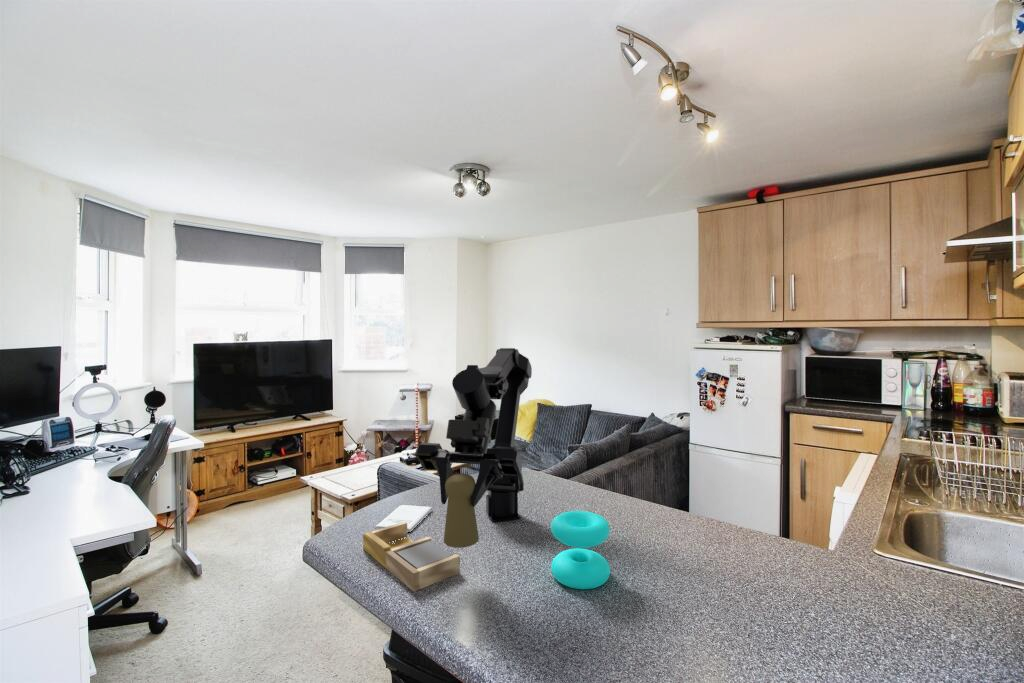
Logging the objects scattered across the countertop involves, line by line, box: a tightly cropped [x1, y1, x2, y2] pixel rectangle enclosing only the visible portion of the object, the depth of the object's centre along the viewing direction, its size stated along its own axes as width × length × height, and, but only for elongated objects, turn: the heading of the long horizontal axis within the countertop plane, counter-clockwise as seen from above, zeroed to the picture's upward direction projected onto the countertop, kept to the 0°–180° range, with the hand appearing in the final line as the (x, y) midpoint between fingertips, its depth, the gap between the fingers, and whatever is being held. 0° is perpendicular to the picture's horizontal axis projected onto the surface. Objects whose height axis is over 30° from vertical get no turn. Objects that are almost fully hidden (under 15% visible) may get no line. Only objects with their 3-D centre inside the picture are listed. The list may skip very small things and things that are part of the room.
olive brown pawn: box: [443, 473, 480, 549], centre depth 80 cm, size 6×6×11 cm
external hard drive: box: [374, 504, 433, 533], centre depth 106 cm, size 2×8×12 cm
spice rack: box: [362, 522, 461, 592], centre depth 87 cm, size 9×20×4 cm, turn 40°
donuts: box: [550, 510, 611, 590], centre depth 80 cm, size 10×10×10 cm
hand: (457, 504), depth 79 cm, fingers closed on olive brown pawn, 5 cm apart
